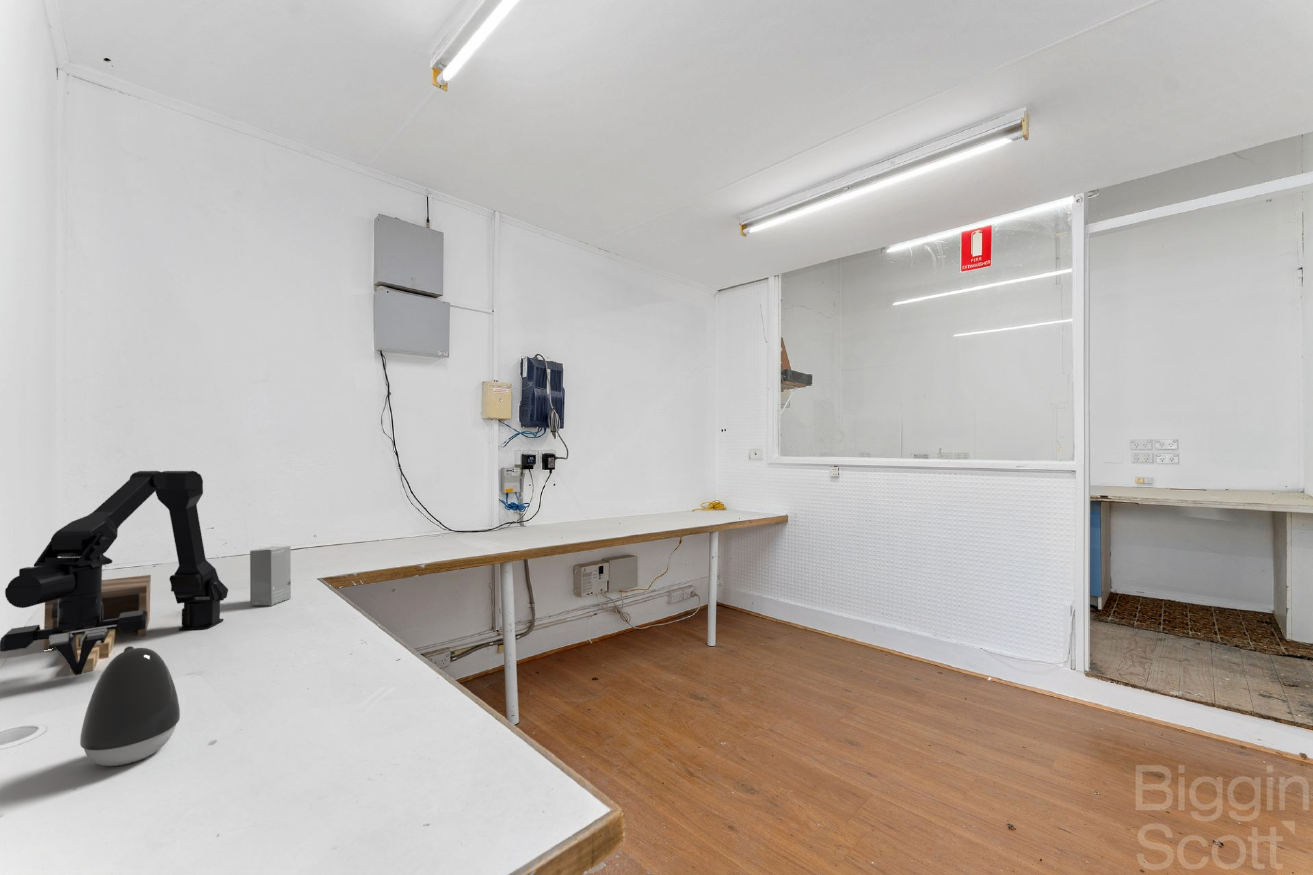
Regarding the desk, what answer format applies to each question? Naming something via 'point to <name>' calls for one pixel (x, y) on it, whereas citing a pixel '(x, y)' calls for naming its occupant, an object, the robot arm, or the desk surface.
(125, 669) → the dark grey egg dome
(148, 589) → the wooden drawer organizer
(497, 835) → the desk surface
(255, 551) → the skincare box
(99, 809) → the desk surface
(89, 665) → the tray
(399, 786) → the desk surface
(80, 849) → the desk surface
